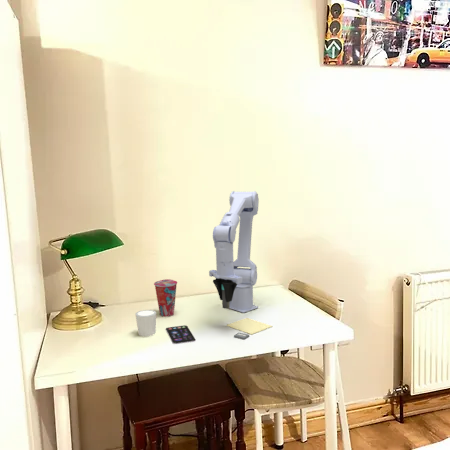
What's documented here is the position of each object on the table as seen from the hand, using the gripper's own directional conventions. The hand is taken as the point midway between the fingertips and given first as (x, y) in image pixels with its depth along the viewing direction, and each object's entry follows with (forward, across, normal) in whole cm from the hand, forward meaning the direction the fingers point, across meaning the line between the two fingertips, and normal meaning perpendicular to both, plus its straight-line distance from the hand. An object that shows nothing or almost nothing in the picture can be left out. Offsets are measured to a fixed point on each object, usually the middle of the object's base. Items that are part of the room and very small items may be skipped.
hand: (225, 300), depth 170 cm
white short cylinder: (+9, -14, -23) cm, 28 cm away
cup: (+10, -26, -7) cm, 28 cm away
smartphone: (+10, -6, -16) cm, 19 cm away
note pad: (+9, +5, +6) cm, 12 cm away
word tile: (+9, +10, -3) cm, 14 cm away
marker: (+2, 0, 0) cm, 2 cm away
